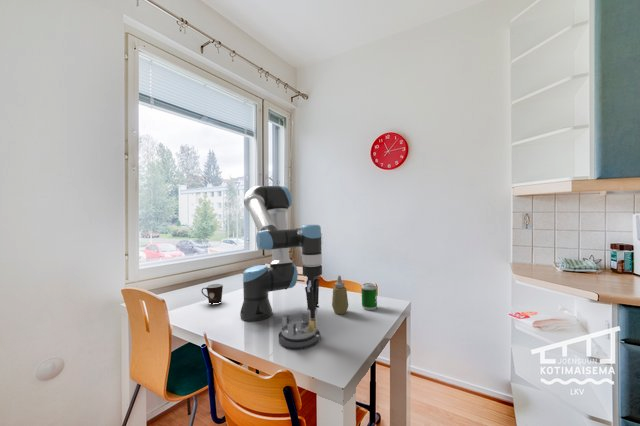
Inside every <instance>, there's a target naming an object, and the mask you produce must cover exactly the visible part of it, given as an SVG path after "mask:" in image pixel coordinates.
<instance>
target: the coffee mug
mask: <svg viewBox="0 0 640 426" xmlns="http://www.w3.org/2000/svg"><path fill="white" fill-rule="evenodd" d="M223 288H224V285H223V283H211V284H208V285H206V287H202V288H201V294H202V295H203V296H204V297H206V298H207V300H208V304H209V303H211V304H213V303H219V302H221V303H222V299H223ZM203 290H206V292H207V295H206V294H205V293H204V292H203Z"/></svg>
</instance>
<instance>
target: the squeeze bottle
mask: <svg viewBox="0 0 640 426" xmlns="http://www.w3.org/2000/svg"><path fill="white" fill-rule="evenodd" d="M336 281H337V282H335V283H334V287H332V299H331V300H332V301H331V306H332V309H333V312H334V314H336V315H345V314H346V313H347V311H348V307H349V299H348V290H347V288H346V287H345V282H343V281H342V276H341V275H337V280H336Z"/></svg>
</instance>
